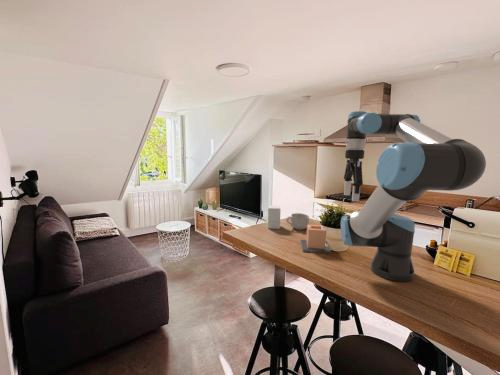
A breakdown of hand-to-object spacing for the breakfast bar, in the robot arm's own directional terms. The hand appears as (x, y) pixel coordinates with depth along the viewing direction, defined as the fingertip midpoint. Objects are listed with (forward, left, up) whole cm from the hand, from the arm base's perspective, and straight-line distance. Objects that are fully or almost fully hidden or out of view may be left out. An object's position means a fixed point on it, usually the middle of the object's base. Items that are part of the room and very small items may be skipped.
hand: (350, 198), depth 113 cm
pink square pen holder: (+7, +13, -26) cm, 29 cm away
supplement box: (+36, +34, -27) cm, 56 cm away
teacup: (+36, +20, -27) cm, 49 cm away
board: (+7, +13, -27) cm, 31 cm away
